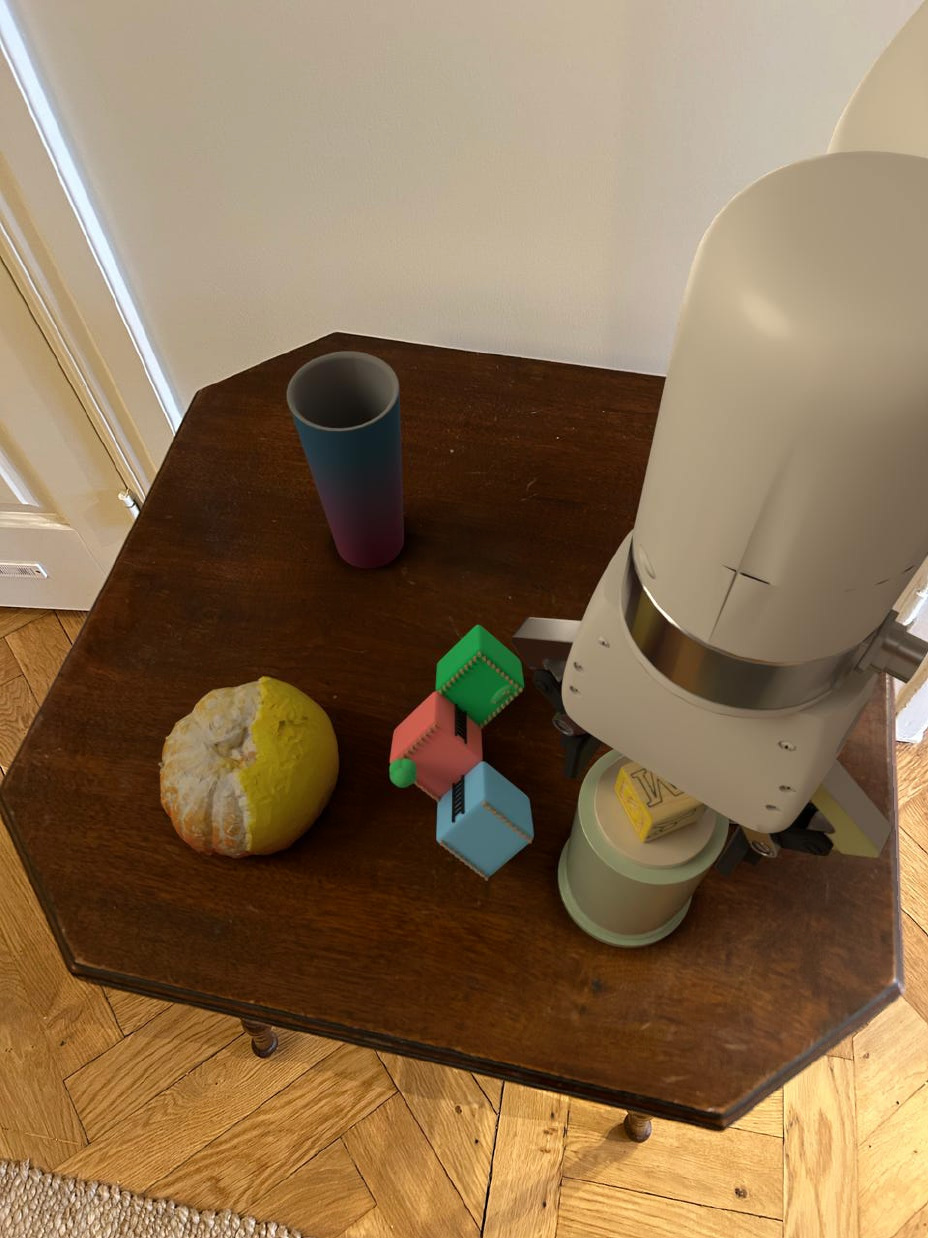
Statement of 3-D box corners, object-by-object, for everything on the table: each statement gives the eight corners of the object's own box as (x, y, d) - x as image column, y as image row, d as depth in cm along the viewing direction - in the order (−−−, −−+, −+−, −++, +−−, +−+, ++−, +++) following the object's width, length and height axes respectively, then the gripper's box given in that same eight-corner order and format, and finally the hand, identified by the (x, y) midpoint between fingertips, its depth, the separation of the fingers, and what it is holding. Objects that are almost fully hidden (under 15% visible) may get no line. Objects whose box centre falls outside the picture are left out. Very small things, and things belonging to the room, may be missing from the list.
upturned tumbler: (714, 863, 54) (766, 786, 44) (649, 977, 50) (689, 922, 40) (601, 792, 56) (625, 703, 46) (531, 895, 53) (541, 824, 43)
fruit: (228, 673, 61) (231, 623, 54) (360, 754, 61) (381, 715, 54) (121, 814, 55) (109, 779, 48) (267, 904, 55) (276, 882, 48)
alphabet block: (701, 822, 43) (714, 798, 40) (642, 846, 42) (652, 824, 40) (669, 766, 44) (680, 739, 42) (612, 789, 44) (619, 763, 41)
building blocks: (481, 771, 62) (486, 885, 51) (392, 699, 60) (377, 801, 49) (564, 696, 60) (587, 798, 49) (474, 618, 58) (478, 706, 47)
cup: (406, 584, 65) (386, 436, 52) (314, 573, 66) (273, 424, 53) (423, 510, 69) (409, 356, 56) (336, 501, 69) (302, 346, 57)
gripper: (1077, 640, 27) (866, 840, 41) (570, 401, 32) (545, 653, 47) (991, 845, 23) (796, 982, 38) (446, 540, 29) (461, 762, 44)
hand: (658, 799), depth 43 cm, fingers open, 7 cm apart
